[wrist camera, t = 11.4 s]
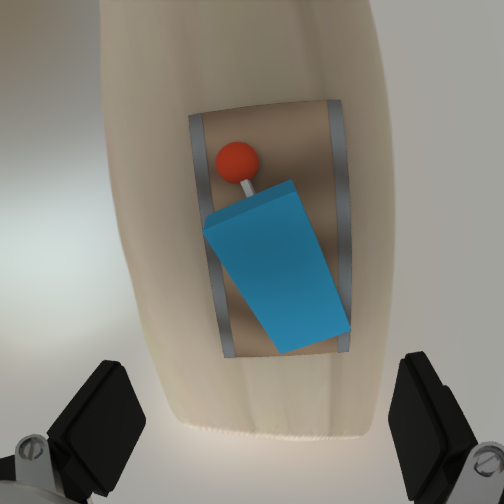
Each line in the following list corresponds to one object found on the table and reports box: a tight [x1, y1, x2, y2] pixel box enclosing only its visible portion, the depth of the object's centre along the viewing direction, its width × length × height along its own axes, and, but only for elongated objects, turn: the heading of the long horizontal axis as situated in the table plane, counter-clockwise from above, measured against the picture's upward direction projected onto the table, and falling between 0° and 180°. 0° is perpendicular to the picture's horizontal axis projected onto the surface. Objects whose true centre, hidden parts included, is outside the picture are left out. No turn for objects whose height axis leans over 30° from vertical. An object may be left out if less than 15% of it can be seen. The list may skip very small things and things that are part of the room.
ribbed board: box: [188, 100, 352, 358], centre depth 28 cm, size 24×13×1 cm, turn 6°
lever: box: [202, 142, 351, 354], centre depth 26 cm, size 7×7×18 cm
